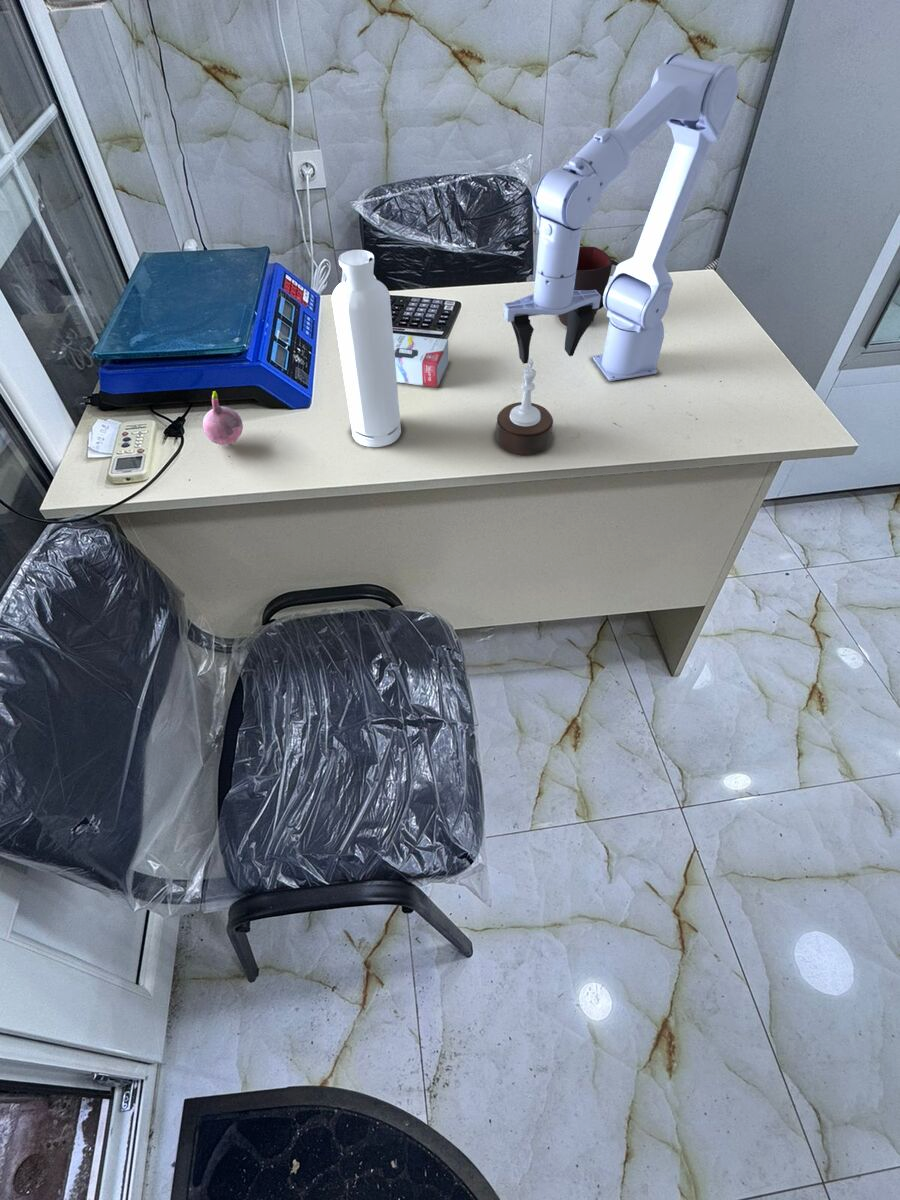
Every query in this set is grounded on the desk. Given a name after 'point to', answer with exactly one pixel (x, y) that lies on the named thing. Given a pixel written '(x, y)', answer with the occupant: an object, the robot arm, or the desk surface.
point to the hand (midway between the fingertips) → (546, 356)
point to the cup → (591, 274)
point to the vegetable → (222, 424)
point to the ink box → (420, 359)
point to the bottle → (367, 350)
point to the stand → (523, 432)
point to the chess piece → (526, 402)
